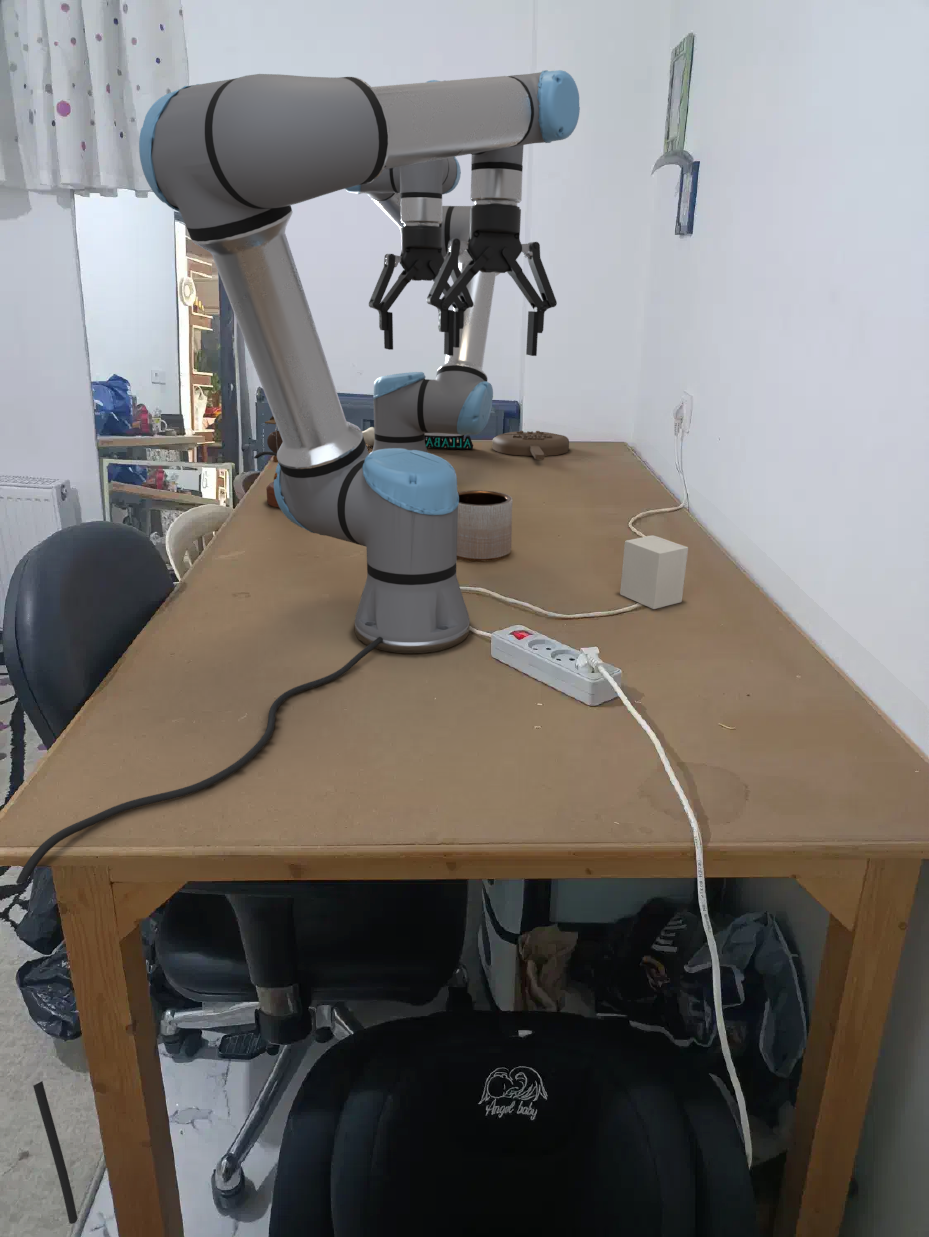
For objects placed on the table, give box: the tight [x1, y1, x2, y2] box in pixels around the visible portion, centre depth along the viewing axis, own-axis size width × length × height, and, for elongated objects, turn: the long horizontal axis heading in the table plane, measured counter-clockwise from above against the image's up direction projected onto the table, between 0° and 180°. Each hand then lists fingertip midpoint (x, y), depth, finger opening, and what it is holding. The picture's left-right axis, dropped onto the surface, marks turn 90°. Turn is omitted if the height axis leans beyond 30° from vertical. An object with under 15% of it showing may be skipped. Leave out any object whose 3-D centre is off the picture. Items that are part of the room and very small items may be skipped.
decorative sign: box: [425, 432, 474, 450], centre depth 227 cm, size 19×2×15 cm, turn 86°
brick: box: [619, 534, 689, 610], centre depth 125 cm, size 6×7×8 cm
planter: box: [457, 489, 513, 562], centre depth 143 cm, size 11×11×10 cm
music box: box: [264, 415, 283, 508], centre depth 172 cm, size 15×11×20 cm
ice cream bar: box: [491, 430, 570, 461], centre depth 224 cm, size 21×28×4 cm
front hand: (490, 355), depth 132 cm, fingers open, 13 cm apart
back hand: (422, 348), depth 161 cm, fingers open, 13 cm apart
